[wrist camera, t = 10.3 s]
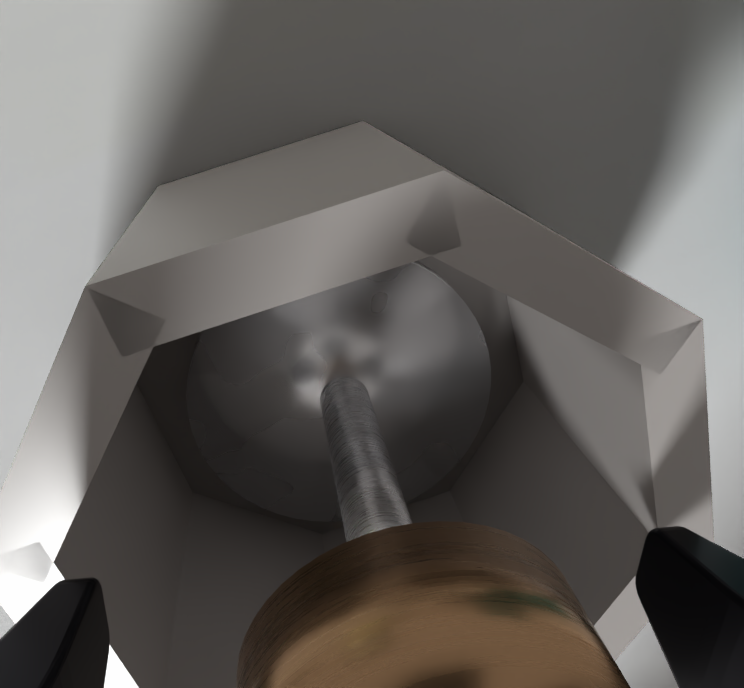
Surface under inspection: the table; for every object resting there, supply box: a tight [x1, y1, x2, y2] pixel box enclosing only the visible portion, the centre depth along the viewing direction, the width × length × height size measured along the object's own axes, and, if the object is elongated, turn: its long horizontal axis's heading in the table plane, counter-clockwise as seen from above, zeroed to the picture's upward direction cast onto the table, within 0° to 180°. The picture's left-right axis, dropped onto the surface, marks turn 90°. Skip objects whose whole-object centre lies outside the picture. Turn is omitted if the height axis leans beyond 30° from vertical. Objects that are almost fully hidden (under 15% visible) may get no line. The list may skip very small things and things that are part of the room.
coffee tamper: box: [186, 260, 630, 688], centre depth 9 cm, size 6×6×8 cm
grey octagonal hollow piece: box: [0, 121, 714, 688], centre depth 11 cm, size 11×9×5 cm
